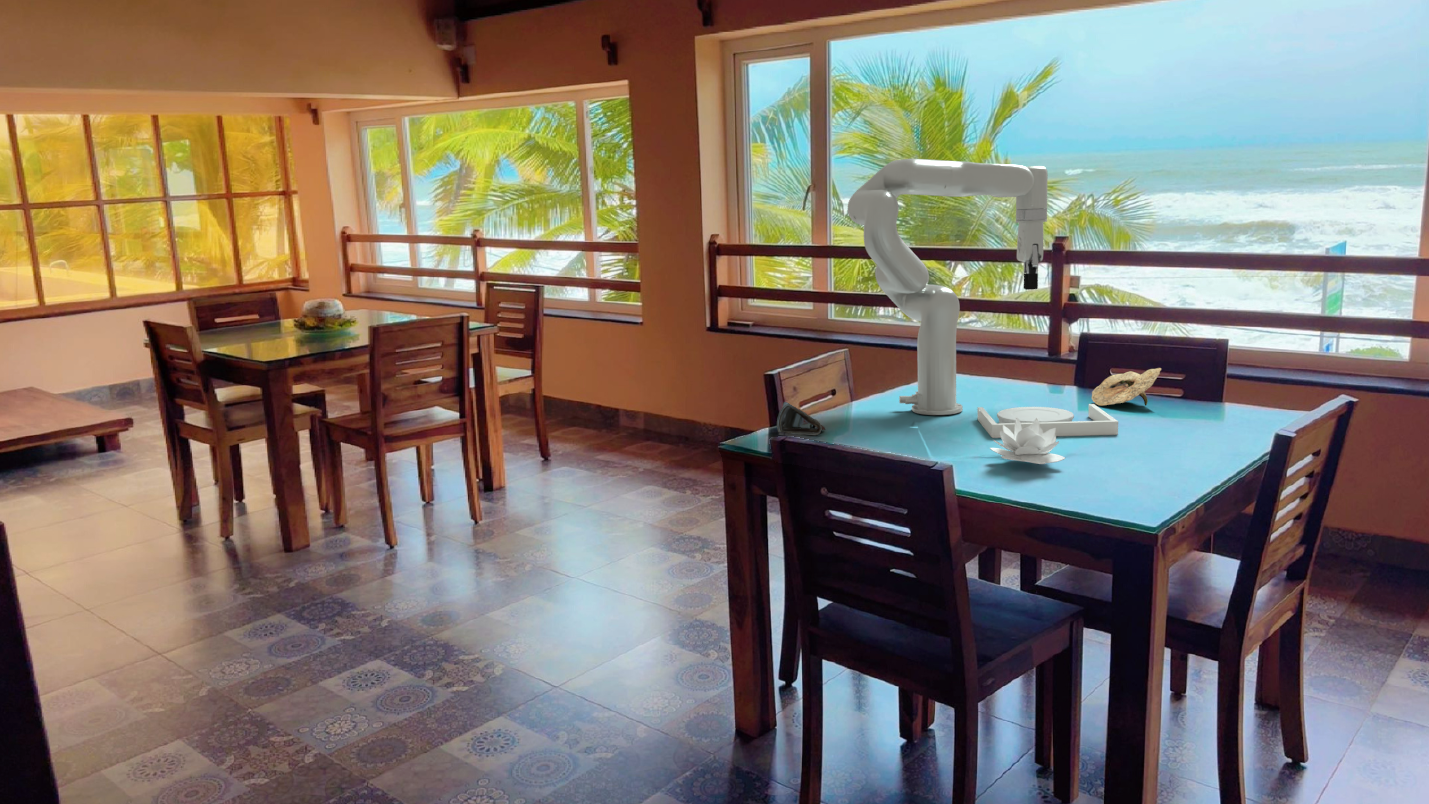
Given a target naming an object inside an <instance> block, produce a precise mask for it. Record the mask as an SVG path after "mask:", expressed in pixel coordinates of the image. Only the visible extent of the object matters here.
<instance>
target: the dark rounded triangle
mask: <svg viewBox="0 0 1429 804" xmlns="http://www.w3.org/2000/svg"><path fill="white" fill-rule="evenodd" d="M776 420H777V421H776V427H777V432H778V433H786V434H787V433H788V434H792V435H793V434H794V435H801V436H803V435H806V436H817V435H819V434H821V431H826V428H825V426H824V425H823V424H822V423H821V422H820V421H819V420H817V419H816V418H813V417H812V416H810V415H808V413H807V412H805V411H804V410H802V409H799V408H798V407H796V406H794V405H792V404H791V403H789V402H787V401H784V402H783V404H782V408H781V409H780V411H779V412H778V416H777V419H776Z"/></svg>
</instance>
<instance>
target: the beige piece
mask: <svg viewBox="0 0 1429 804" xmlns="http://www.w3.org/2000/svg"><path fill="white" fill-rule="evenodd" d="M1161 371H1162V368H1161V367H1157V368H1150V369H1147V370H1146V371H1144V372H1143V373H1141V374H1140V373H1138V372H1134V371H1126V372H1125V373H1117V374H1113V375H1109V376H1108V377H1107V378H1105V379H1104V380H1103V381H1102V382H1101V383H1100V384H1099V385H1098V386H1096V387H1095V388H1094V389H1093V390H1092V391H1091V400H1092V402H1094V404H1095V405H1098V406H1107V405H1108V406H1109V405H1115V404H1121V403H1122V404H1123V403H1126V402H1130V401H1132V400H1134V398H1136V397H1138V396H1139V397H1141V399H1142V400H1143V403H1144V406H1147V405H1148V402H1149V401H1148V400H1149V399H1148V397H1147V394H1146V391H1147V390H1148V389H1150V388H1151V387H1152V386H1153V385H1154V383H1155V381H1156V380H1157V378H1158V377H1159V375H1161V374H1160V372H1161Z"/></svg>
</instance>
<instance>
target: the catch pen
mask: <svg viewBox="0 0 1429 804" xmlns="http://www.w3.org/2000/svg"><path fill="white" fill-rule="evenodd" d="M1088 418H1090V419H1091V420H1085V421H1084V420H1080V421H1078V420H1075V421H1073V420H1072V422H1039V425H1040V428H1041V429H1042V430H1043V433H1045V432H1046V431H1048V430H1050V429H1053V428H1056V432H1055V436H1056V437H1079V436H1081V437H1083V436H1114V435H1115V436H1118V435H1119V420H1117V419H1115V417H1113V416H1112V415H1110V414H1108V413H1107V412H1106V411H1104V410H1103V409H1102V408H1100V407H1099V406H1097V404H1095V403H1088ZM977 421H978V422H979V423H980V425H981V426H982V427H983V429H984V430H985V431H986V432H987V433H988V435H989V436H990V437H991V438H992V439H999V438H1000V439H1002V438H1001V436H1000V431H1002V432H1003V425H1004V426H1005V427H1007V428H1008V429H1009V430H1010V431H1011V432H1012V433H1013V434H1014V427H1015V423H1001V424H999V423H998V422H996V421H995V420H994V419H993V418H992V416H991V415H990V414H989V412H988V411H987V410H986V409H985V408H984V407H983V406H978V407H977ZM1032 424H1033V423H1021V427H1022V429H1024V428H1026V427H1029V426H1030V425H1032Z"/></svg>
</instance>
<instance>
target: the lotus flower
mask: <svg viewBox="0 0 1429 804" xmlns="http://www.w3.org/2000/svg"><path fill="white" fill-rule="evenodd" d="M1055 432H1056V428H1053V429H1050V430H1048V431H1046V432H1045V433H1043V430H1042V429H1041V428H1040V425H1039V420H1038V418H1036V419H1035V421H1034V423H1033V424H1032V425H1030V426H1029V427H1026V428H1024V429H1022V427H1021V423H1020V421H1019V419H1018V418H1016V421H1015V427H1014V434H1013V433H1012V432H1011V431H1010V430H1009V429H1008V428H1007V427H1005V426H1004V425H1003V432H1002V431H1000V436H1001V438H1000V439H1001V440H1002V443H1001V442H999V441H997V440H995V439H992V441H993V442H994V443H996V444H997V445H998V446H1000V447H1002V448H1000V447H999V448H998V447H989V450H991V451H993V452H994V453H996V454H998V455H1001V456H1000V457H1001V458H1002V459H1003V460H1011V461H1016V462H1017V461H1018V462H1027V463H1032V464H1039V465H1045V464H1050V463H1051V464H1052V463H1057V462H1061V461H1064V460H1065V459H1066V457H1064V456H1062V455H1059V454H1056V453H1050V452H1051V451H1053V449H1054V448H1055V447H1057V446H1058V445H1059V444H1060V441H1059V440H1058V441H1057V436H1055ZM1003 448H1004V449H1003Z"/></svg>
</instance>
